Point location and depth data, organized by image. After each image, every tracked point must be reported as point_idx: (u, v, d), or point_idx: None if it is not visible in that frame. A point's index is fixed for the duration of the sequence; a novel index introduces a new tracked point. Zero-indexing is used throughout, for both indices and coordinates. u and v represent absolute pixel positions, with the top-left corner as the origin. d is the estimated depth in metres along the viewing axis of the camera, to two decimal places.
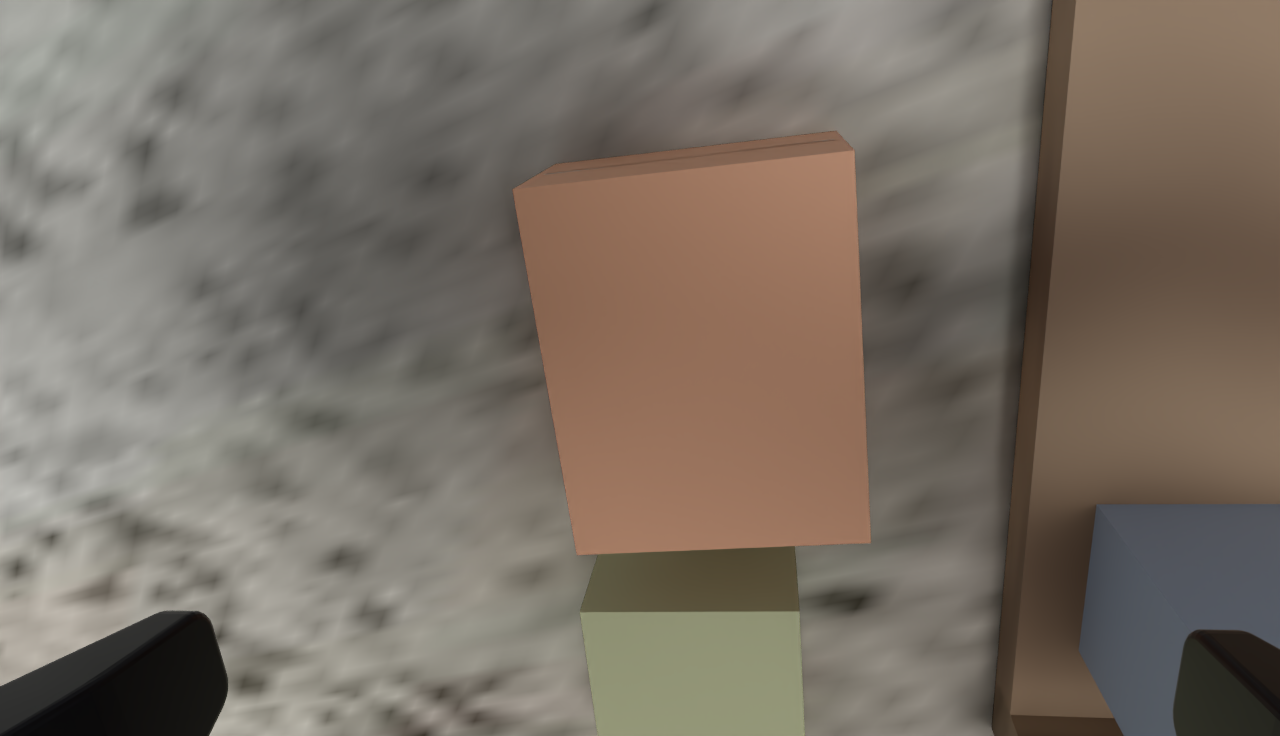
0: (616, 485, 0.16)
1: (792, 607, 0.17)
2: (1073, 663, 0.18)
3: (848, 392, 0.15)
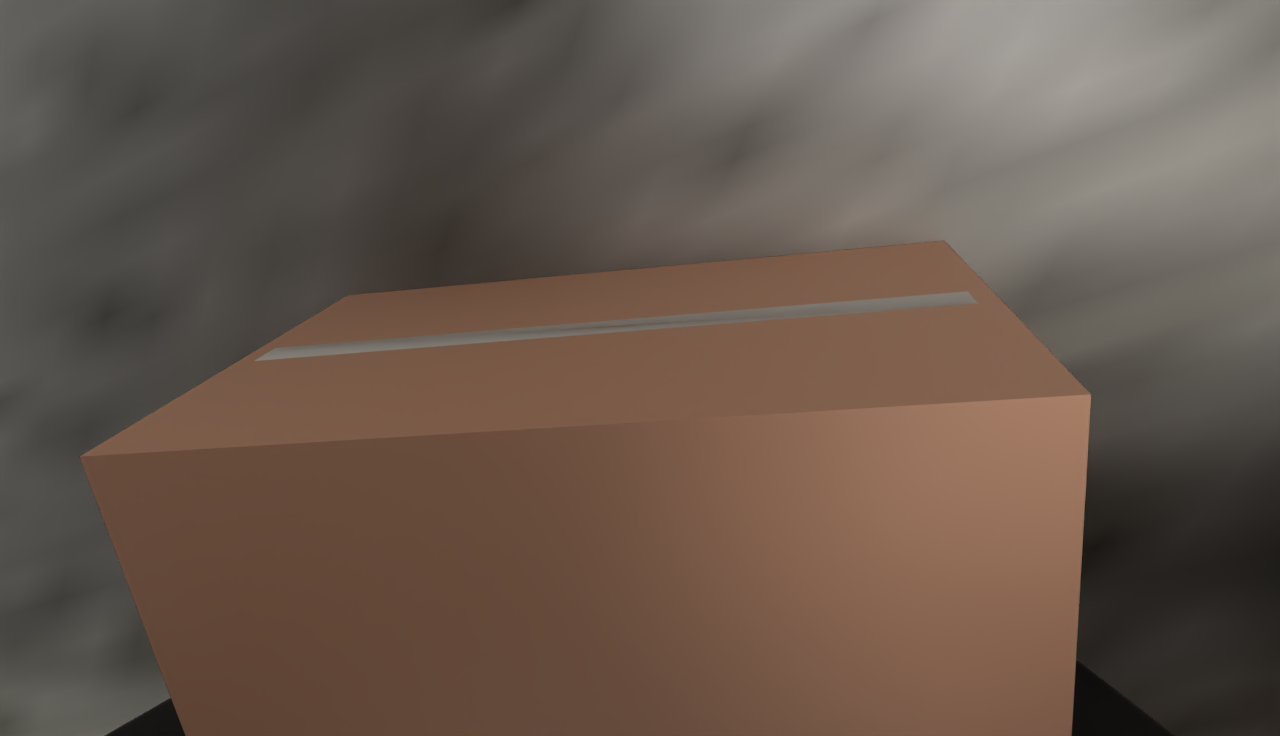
0: None
1: None
2: None
3: None
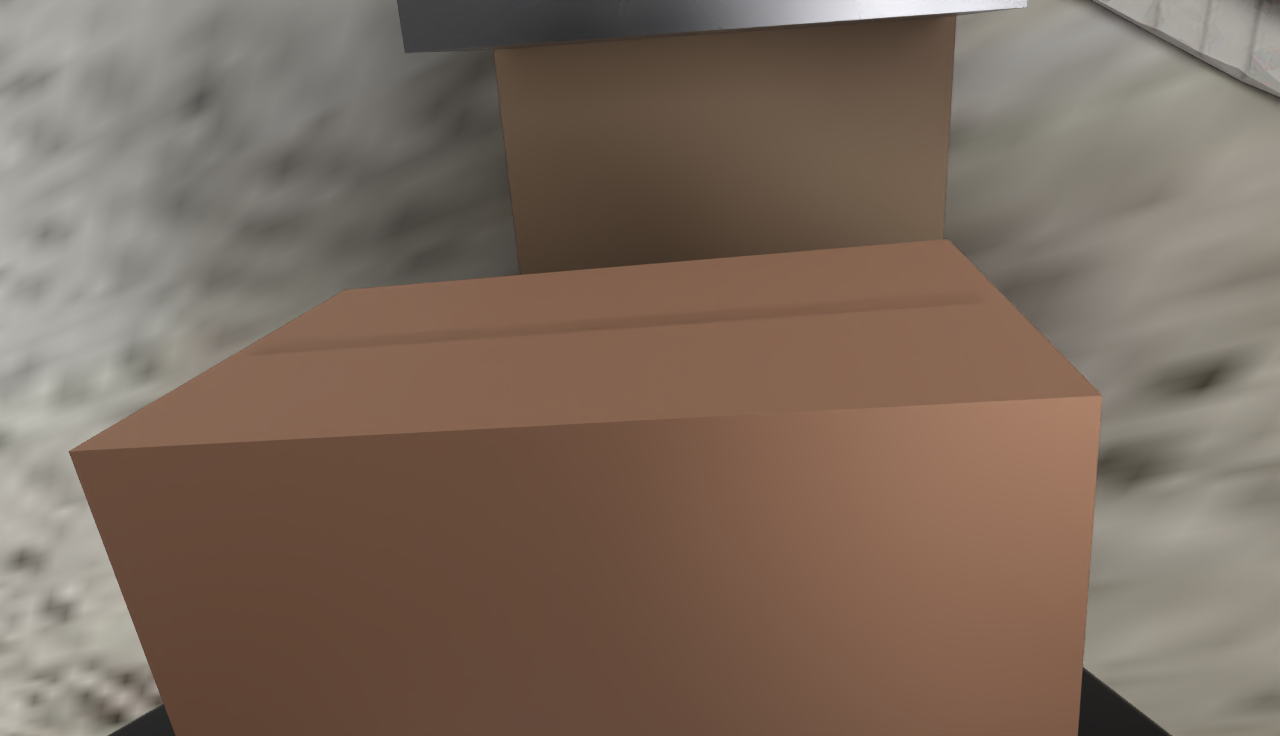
0: None
1: None
2: None
3: None
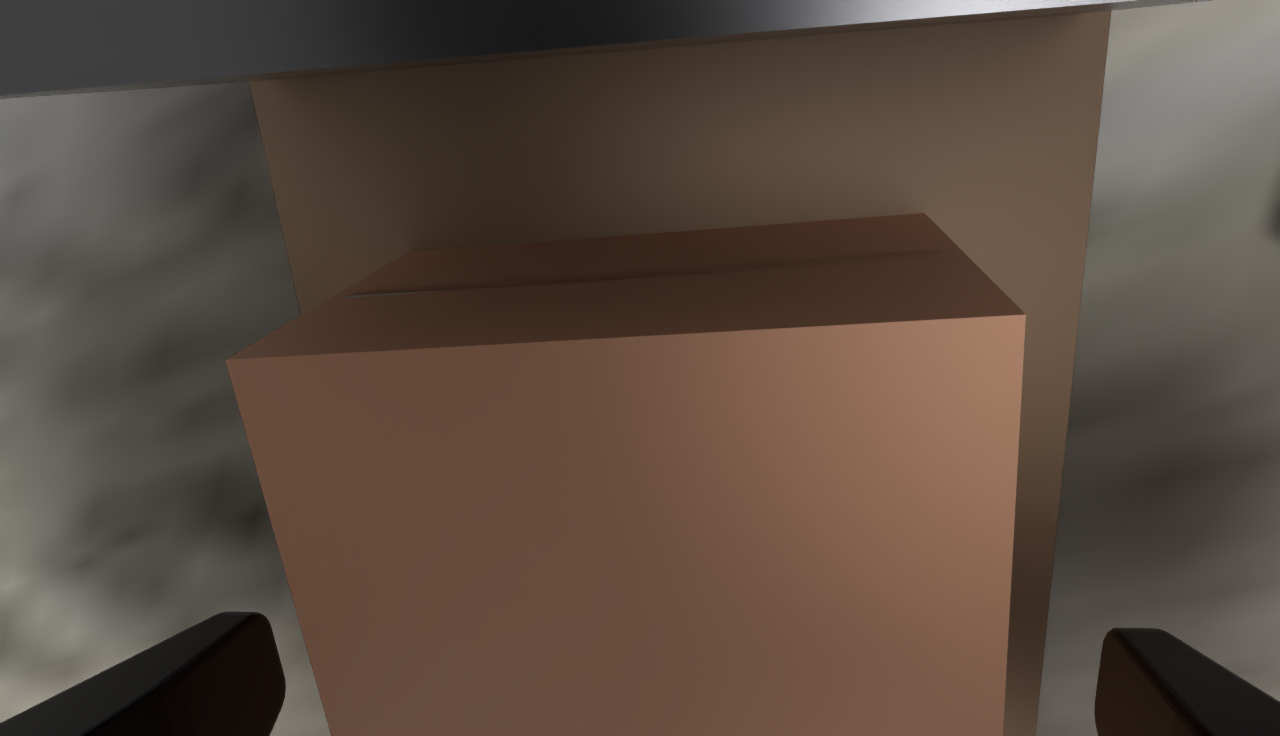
0: None
1: None
2: None
3: None
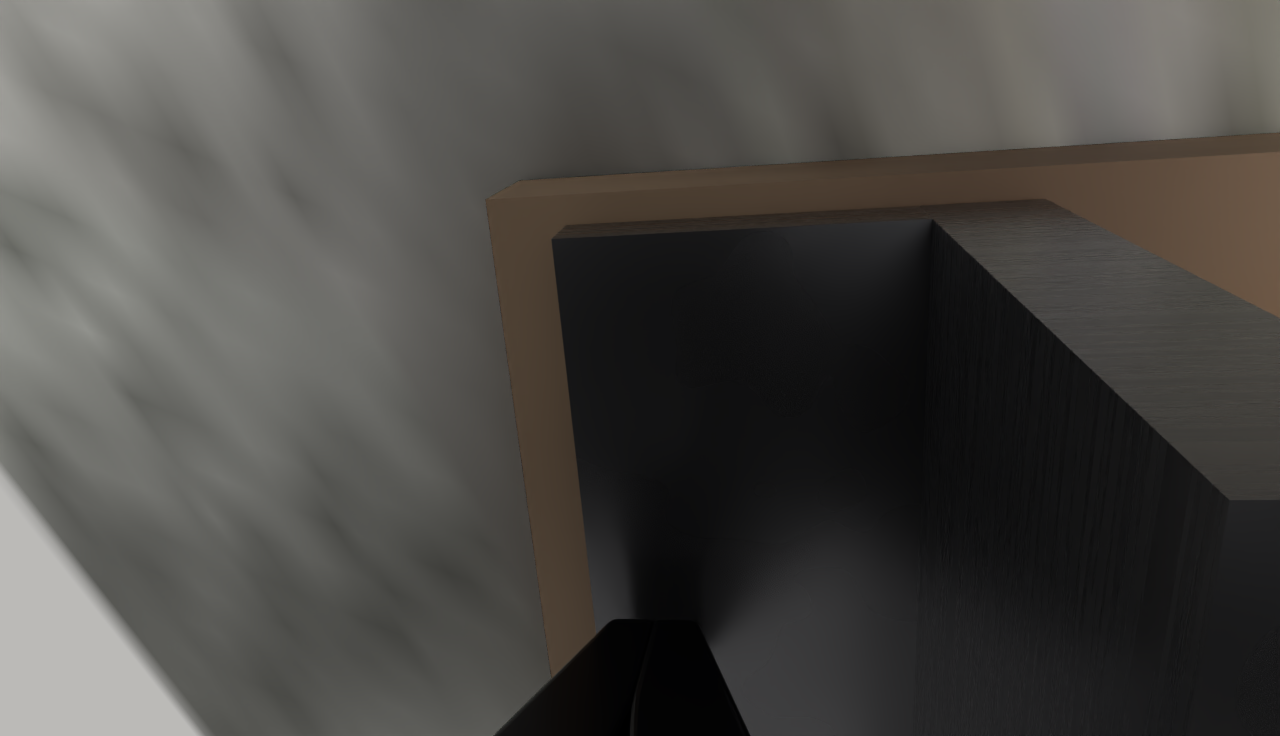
0: None
1: None
2: None
3: None
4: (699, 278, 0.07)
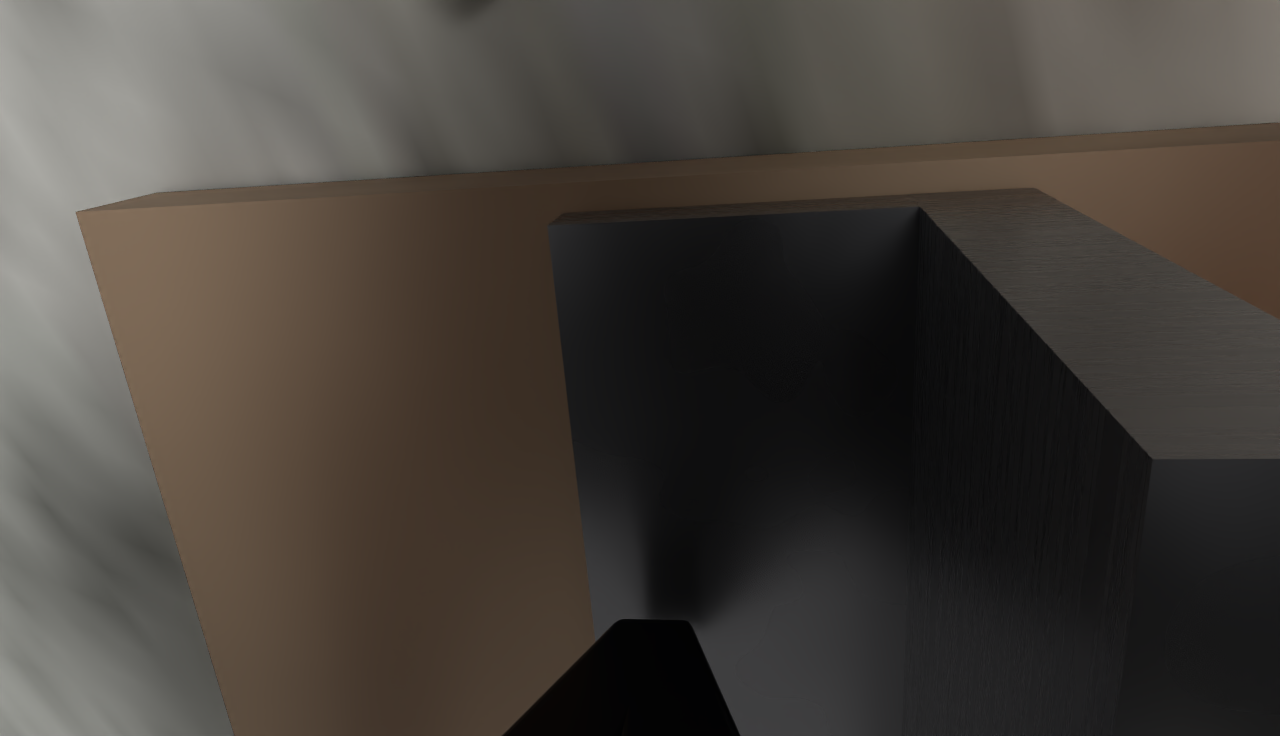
0: None
1: None
2: None
3: None
4: (691, 264, 0.07)
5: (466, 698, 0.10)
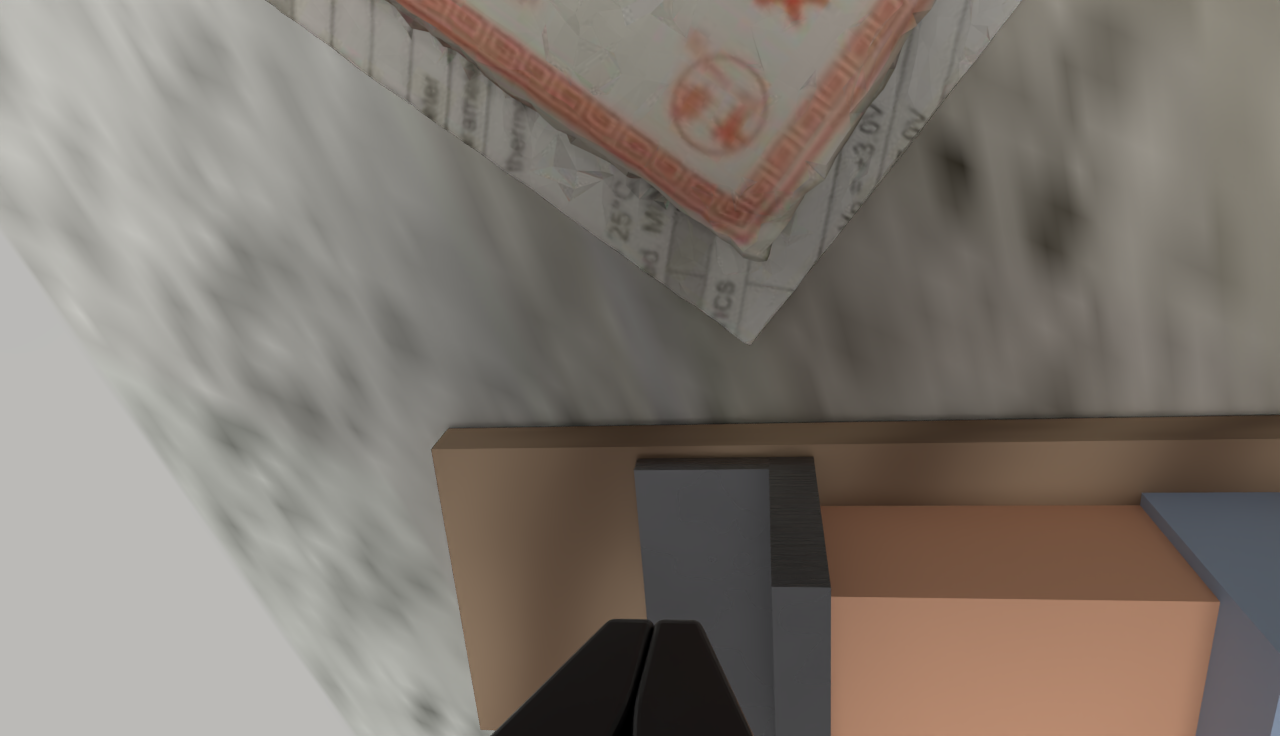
0: None
1: None
2: None
3: (1044, 611, 0.16)
4: (687, 485, 0.19)
5: None
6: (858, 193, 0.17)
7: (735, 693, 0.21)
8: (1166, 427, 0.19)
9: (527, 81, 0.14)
